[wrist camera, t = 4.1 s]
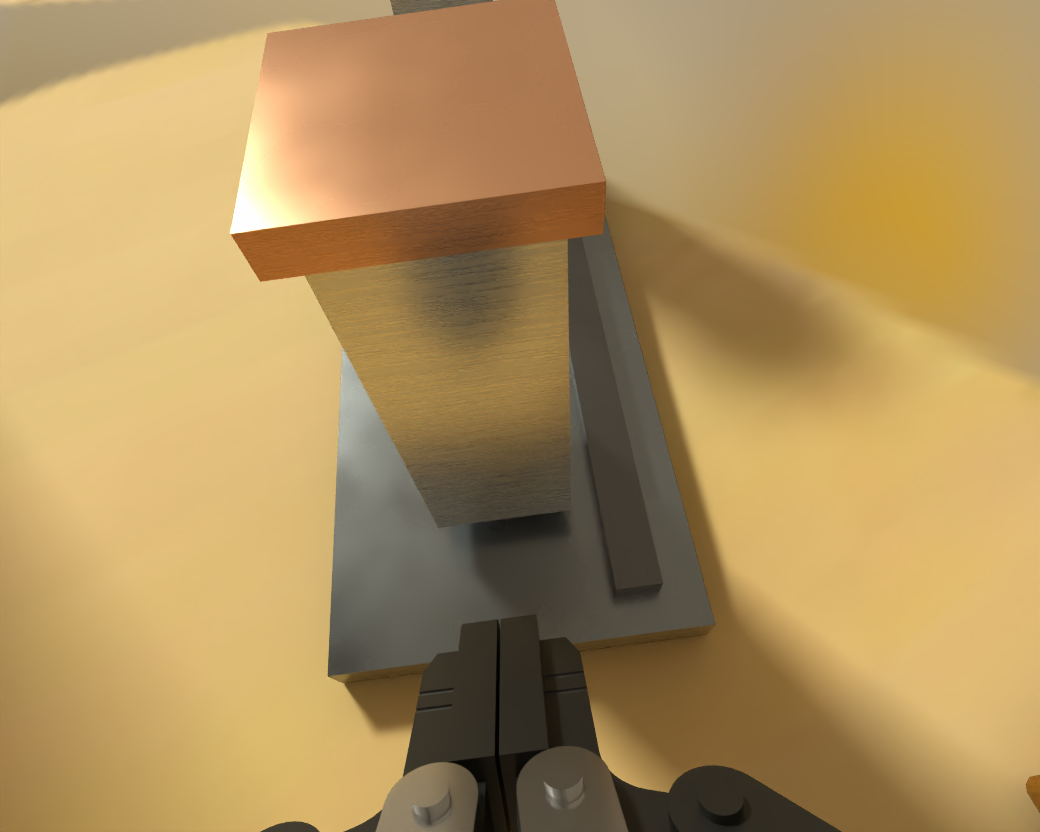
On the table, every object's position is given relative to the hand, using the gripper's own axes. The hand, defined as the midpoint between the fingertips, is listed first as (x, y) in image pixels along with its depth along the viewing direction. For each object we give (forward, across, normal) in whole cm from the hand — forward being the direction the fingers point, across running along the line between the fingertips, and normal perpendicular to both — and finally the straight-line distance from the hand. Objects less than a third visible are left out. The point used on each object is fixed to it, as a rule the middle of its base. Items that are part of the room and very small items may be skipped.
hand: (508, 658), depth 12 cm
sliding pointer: (+6, 0, +2) cm, 7 cm away
